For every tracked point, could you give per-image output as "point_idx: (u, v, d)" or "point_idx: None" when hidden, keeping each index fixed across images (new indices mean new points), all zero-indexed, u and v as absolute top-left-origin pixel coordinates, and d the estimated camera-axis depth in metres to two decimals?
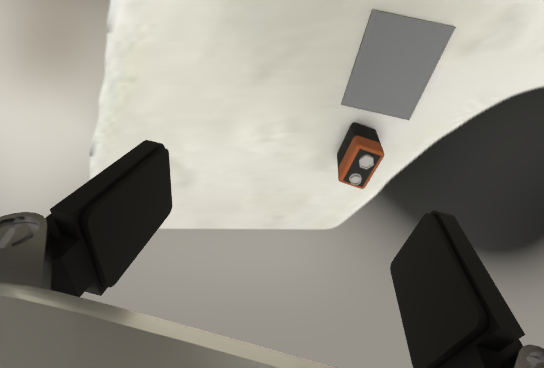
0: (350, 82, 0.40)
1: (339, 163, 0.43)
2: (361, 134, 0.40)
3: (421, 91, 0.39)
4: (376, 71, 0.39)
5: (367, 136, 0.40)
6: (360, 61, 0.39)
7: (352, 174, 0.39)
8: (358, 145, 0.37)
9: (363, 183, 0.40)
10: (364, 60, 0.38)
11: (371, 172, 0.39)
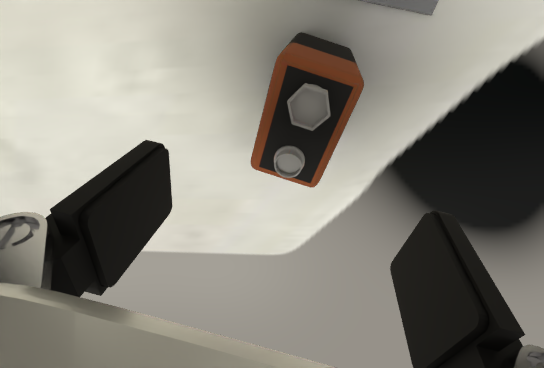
0: None
1: None
2: (307, 44, 0.15)
3: None
4: None
5: (323, 49, 0.15)
6: None
7: (280, 148, 0.15)
8: (284, 54, 0.12)
9: (312, 173, 0.15)
10: None
11: (329, 142, 0.14)
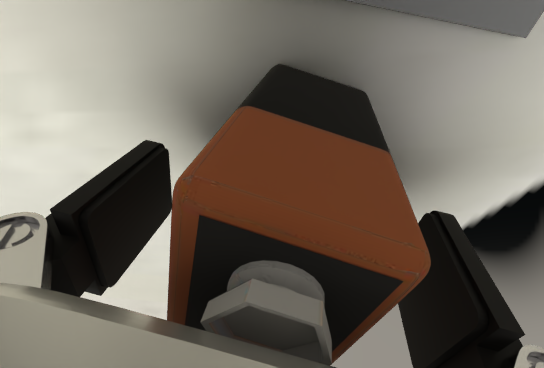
0: None
1: None
2: (283, 102, 0.07)
3: None
4: None
5: (316, 114, 0.07)
6: None
7: None
8: (191, 181, 0.04)
9: None
10: None
11: None
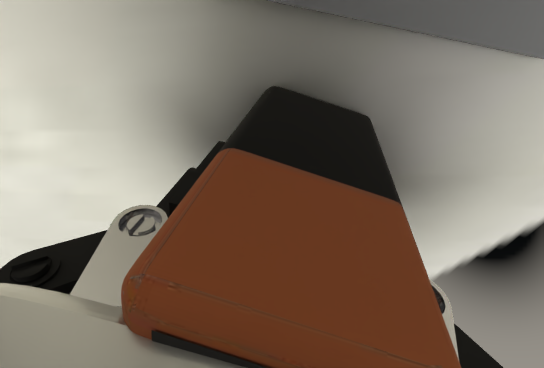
0: None
1: None
2: (275, 139, 0.06)
3: None
4: None
5: (314, 153, 0.06)
6: None
7: None
8: (141, 284, 0.03)
9: None
10: None
11: None
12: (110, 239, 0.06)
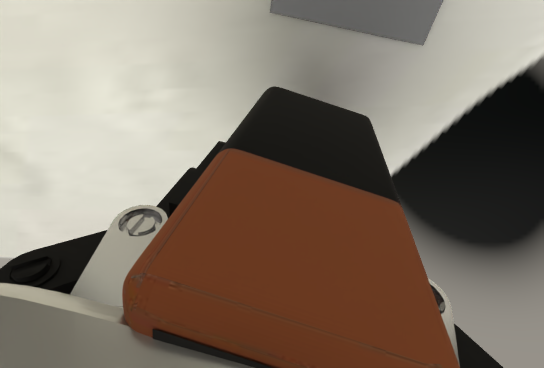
0: None
1: None
2: (275, 140, 0.06)
3: None
4: None
5: (314, 153, 0.06)
6: None
7: None
8: (142, 282, 0.03)
9: None
10: None
11: None
12: (110, 239, 0.06)
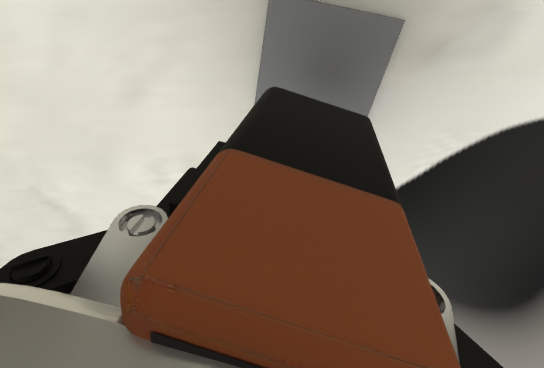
0: None
1: None
2: (275, 140, 0.06)
3: None
4: (291, 90, 0.25)
5: (314, 153, 0.06)
6: (265, 75, 0.25)
7: None
8: (139, 284, 0.03)
9: None
10: (271, 72, 0.25)
11: None
12: (110, 239, 0.06)
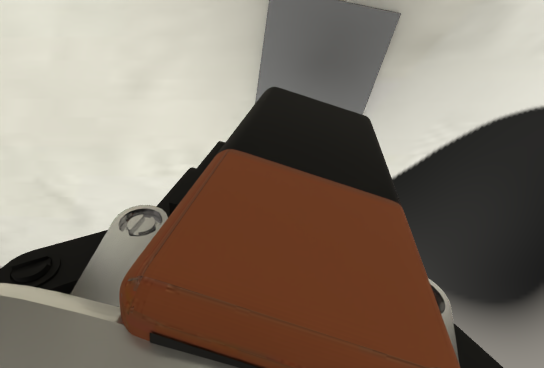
0: (258, 97, 0.28)
1: None
2: (274, 140, 0.06)
3: (360, 112, 0.26)
4: (292, 82, 0.26)
5: (314, 153, 0.06)
6: (266, 67, 0.26)
7: None
8: (138, 284, 0.03)
9: None
10: (272, 65, 0.26)
11: None
12: (110, 239, 0.06)
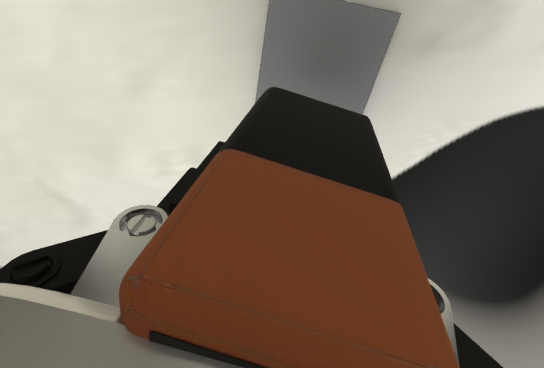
0: (258, 97, 0.28)
1: None
2: (274, 140, 0.06)
3: (360, 112, 0.26)
4: (292, 82, 0.26)
5: (313, 153, 0.06)
6: (266, 67, 0.26)
7: None
8: (138, 283, 0.03)
9: None
10: (272, 65, 0.26)
11: None
12: (110, 239, 0.06)
